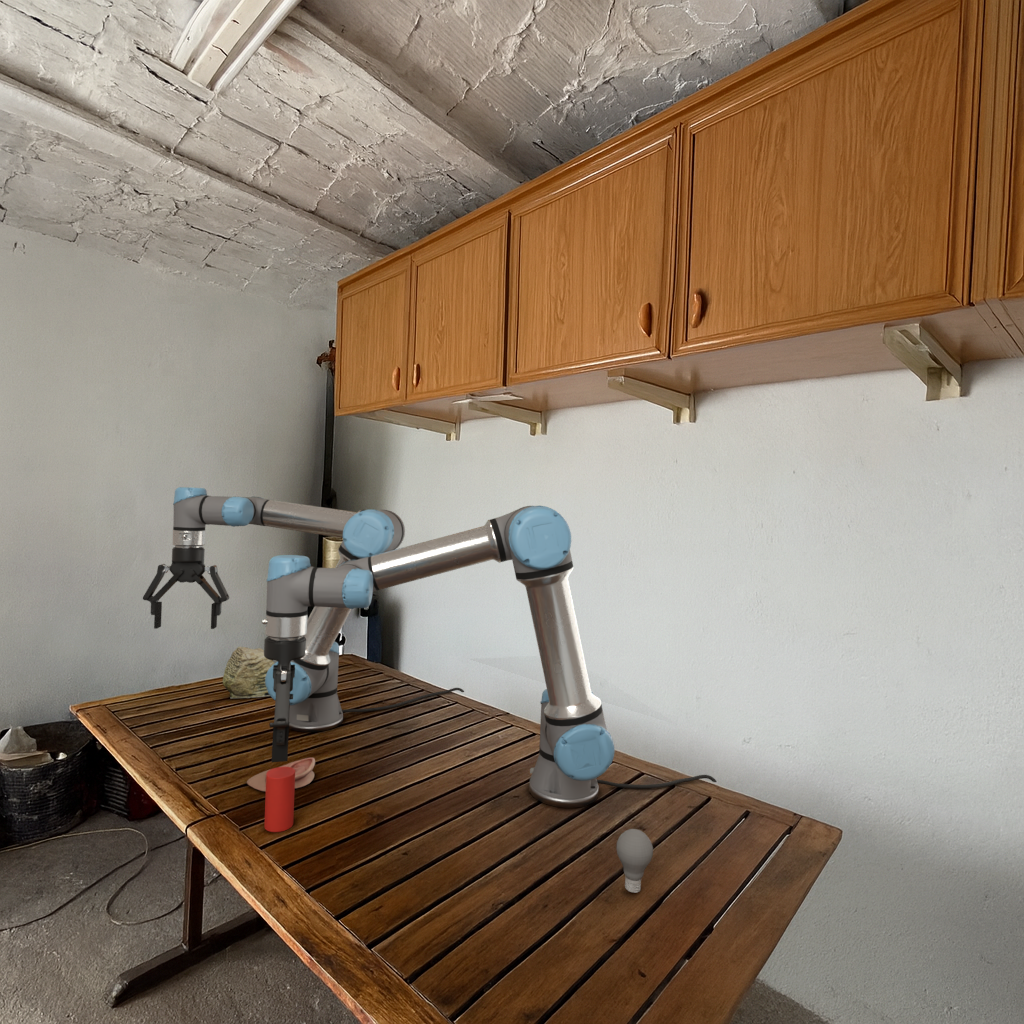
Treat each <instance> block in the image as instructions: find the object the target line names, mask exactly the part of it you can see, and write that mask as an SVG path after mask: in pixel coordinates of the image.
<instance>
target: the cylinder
mask: <svg viewBox="0 0 1024 1024" xmlns="http://www.w3.org/2000/svg"><path fill="white" fill-rule="evenodd" d="M268 770H269V771H268V772H267V773H266V791H265V795H264V796H265V799H264V802H265V804H264V825H263V827H264V829H265V830H266V831H267V832H269V833H270V832H271V833H282V832H285V831H287V830H289V829H291V828H292V827H293V825H294V819H295V818H294V815H295V793H296V791H295V789H296V788H295V769H293V768H291V767H280V766H277V767H273V768H270V769H268Z"/></svg>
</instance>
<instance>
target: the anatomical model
mask: <svg viewBox="0 0 1024 1024" xmlns="http://www.w3.org/2000/svg"><path fill="white" fill-rule="evenodd" d="M315 766H316V758H315V757H306V758H302V759H299V760H295V761H291V762H289V763H287V764H283V765H281V766H280V765H279V767H291V768H293V769H295V789H299V788H302V787H305V786H307V785H309V784H310V783H311V782H312V781H313V780H314V778H315V772H314V771H313V769H314V767H315ZM269 770H270V769H268V770H267V769H266V770H264V771H262V772H259V773H257V774H255V775H253V776H252V777H250V778H249V779H247V781H246V784H247V785H248V786H249V787H251V788H253V789H255V790H258V791H260V792H266V773H267V772H268V771H269Z"/></svg>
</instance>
